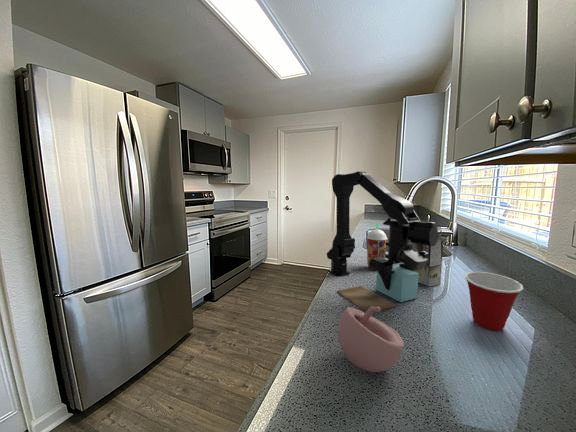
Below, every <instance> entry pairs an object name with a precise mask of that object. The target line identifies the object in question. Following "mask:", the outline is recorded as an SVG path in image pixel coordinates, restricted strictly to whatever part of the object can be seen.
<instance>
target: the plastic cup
mask: <svg viewBox="0 0 576 432" xmlns="http://www.w3.org/2000/svg"><path fill="white" fill-rule="evenodd" d="M464 278H465V279H466V282H467V286H468V290H469V300H470V308H471V313H472V320H473V323H474V324H475V325H476V326H479V327H481V328H482V329H484V330H489V331H491V332H492V331H493V332H494V331H495V332H501V331H503V330H504V328H505V326H506V324H507V321H508V319H509V317H510V315H511V311H512V308H513V306H514V304H515V301H516V299H517V297H518V295H519V293H520V292H522V291H523V290H524V286H523V284H522V283H520V282H519V281H518V280H515V279H513V278H510V277H508V276H505V275H501V274H498V273H493V272H492V273H491V272H487V271H469V272H467V273H465V276H464Z"/></svg>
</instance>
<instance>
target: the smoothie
mask: <svg viewBox="0 0 576 432" xmlns="http://www.w3.org/2000/svg"><path fill="white" fill-rule="evenodd" d="M388 240H389V237H388V236H387V235H386V233H385V232H384V230H382V229H379V222H376V228H375V229H372V230H370V232H368V234H367V236H366V250H367V252H366V253H367V254H366V255H367V261H366V262H367V266H368V269H369V268H370V267H369V260H371V259H372V258H379V257H380V258H383V259H386V258H385V255H386V253H387V247H388V246H387V245H386V242H388ZM371 269H372V271H376V270H375V269H373V268H370V269H369V270H371Z"/></svg>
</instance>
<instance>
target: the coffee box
mask: <svg viewBox="0 0 576 432" xmlns="http://www.w3.org/2000/svg"><path fill="white" fill-rule="evenodd" d="M409 241H410V240H409ZM409 244H411V245H412V250H413V251H414V252H418V253H419V252H422V251H425V252H427V253H428V254H429V260H428V261H429V263H428V264H425V265H424V267H423V269H418V270H416V271H414V272H417V273H419V277H418V284H419V283H420V284H422V285H424V286H426V287H434V286H440V285H441V282H442V281H441V280H442V268H443V253H444V252H443V251H444V240H440V239H438V241H437V243H436V245H435V246H427V245H422V244H416V243H412V242H411V241H410V243H409Z"/></svg>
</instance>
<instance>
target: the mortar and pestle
mask: <svg viewBox="0 0 576 432" xmlns="http://www.w3.org/2000/svg"><path fill="white" fill-rule="evenodd" d="M380 310H381V308H380V307H373V306H371V307H370V308H369V309H368V310H367V312H366V311H362V310H360V309H357V308H354V307H350V306H348V307H346V308H345V309H344V311H343V313H342V314H341V316H340V318H339V319H338V320H339V321H338V324H337V339H338V343H339V346H340V348H341V350H342V352H343V354H344V355H345V357H346V358H347V359H348V360H349V361H350V362H351V364H353V365H354V366H356V367H358V368H359V369H361V370H364V371H367V372H370V373H381V372H384V371H385V372H386V371H387V370H391V369H392V368H393V367H394V366H395V365H396V364H398V362H399V360H400V359H401V357H402V355H403V353H404V350H405V349H404V348H405V342H404V340H403V338H402V336H400V334H399V333H398V332H397V331H396V330H395V329H394V328H393V327H391V326H389V325H388V324H386V323H384V322H383V321H380V320H379V319H378V318H375V317H374V316H373V315H374V314H375V313H380V312H381V311H380Z"/></svg>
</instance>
